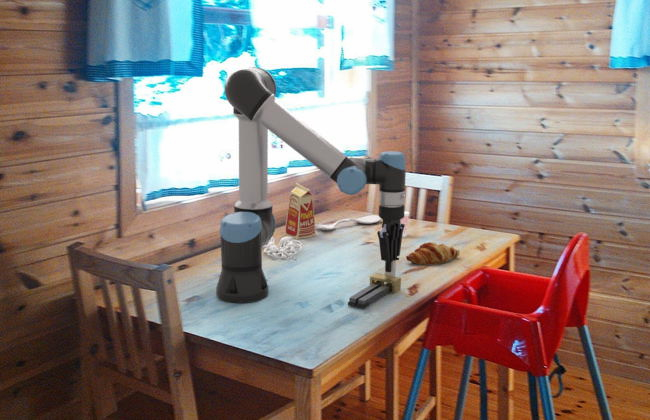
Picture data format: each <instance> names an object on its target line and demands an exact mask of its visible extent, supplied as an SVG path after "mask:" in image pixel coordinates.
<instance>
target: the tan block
mask: <svg viewBox="0 0 650 420" xmlns="http://www.w3.org/2000/svg"><path fill="white" fill-rule="evenodd" d="M376 281H382V282H384V283H386V282H387V283H392V292H391V294H397V293H398V292H399V291H401V290H402V289H401V288H402V287H401V286H402V282H401V281H402V277H400V276H395V277H394V276H389V275H385V273H383V274H382V273H379V272H375V273H374V274H372V275H370V276H369V286H370V285H371V284H373V283H374V282H376Z"/></svg>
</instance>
